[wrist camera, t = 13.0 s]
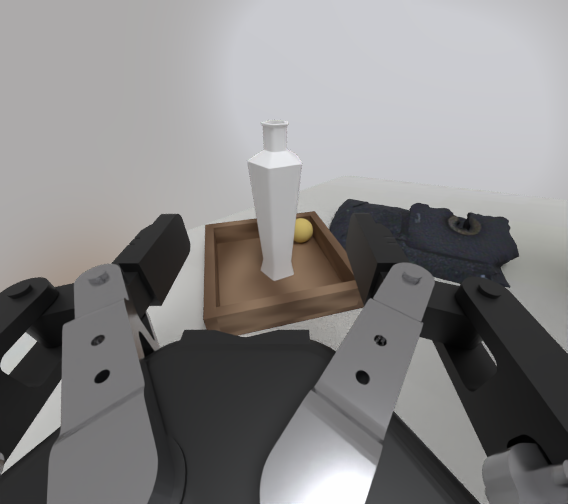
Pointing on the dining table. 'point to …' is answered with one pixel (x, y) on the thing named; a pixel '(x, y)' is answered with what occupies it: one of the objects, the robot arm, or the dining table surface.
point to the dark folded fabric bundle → (440, 239)
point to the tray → (263, 290)
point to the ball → (302, 230)
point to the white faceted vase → (275, 198)
